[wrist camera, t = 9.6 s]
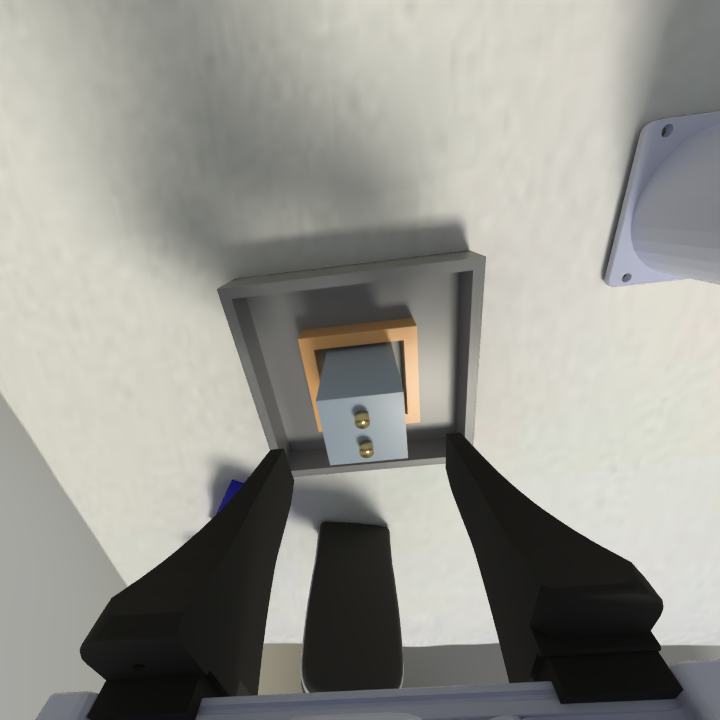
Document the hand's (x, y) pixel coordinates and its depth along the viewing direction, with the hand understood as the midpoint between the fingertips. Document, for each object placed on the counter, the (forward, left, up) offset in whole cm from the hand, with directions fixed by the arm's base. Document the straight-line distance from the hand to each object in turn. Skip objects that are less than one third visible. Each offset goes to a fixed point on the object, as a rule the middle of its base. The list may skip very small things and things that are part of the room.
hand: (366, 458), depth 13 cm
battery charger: (+3, +18, -9) cm, 20 cm away
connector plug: (0, 0, -8) cm, 8 cm away
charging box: (0, 0, -8) cm, 8 cm away
